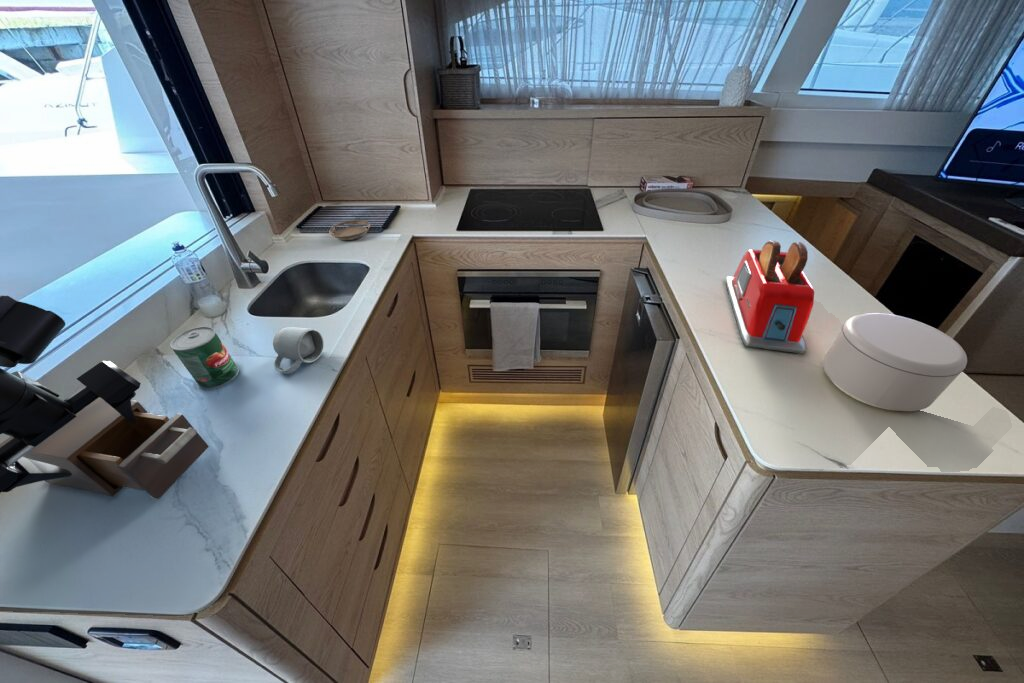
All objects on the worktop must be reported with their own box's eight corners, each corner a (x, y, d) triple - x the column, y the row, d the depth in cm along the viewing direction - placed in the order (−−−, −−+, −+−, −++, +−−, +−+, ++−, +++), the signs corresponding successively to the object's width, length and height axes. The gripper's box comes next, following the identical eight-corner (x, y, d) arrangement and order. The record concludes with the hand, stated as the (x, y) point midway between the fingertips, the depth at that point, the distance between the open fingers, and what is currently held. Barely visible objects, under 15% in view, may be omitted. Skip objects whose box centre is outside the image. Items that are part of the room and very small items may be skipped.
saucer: (333, 245, 140) (330, 238, 139) (329, 231, 151) (327, 224, 149) (374, 237, 145) (373, 230, 143) (368, 224, 156) (367, 217, 154)
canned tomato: (239, 380, 86) (214, 341, 79) (197, 394, 83) (167, 355, 76) (238, 360, 91) (214, 322, 85) (199, 372, 88) (171, 334, 82)
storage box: (173, 440, 74) (138, 401, 67) (113, 496, 65) (66, 458, 58) (114, 430, 76) (75, 392, 69) (49, 484, 67) (-4, 445, 60)
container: (798, 362, 85) (823, 318, 78) (865, 347, 88) (895, 303, 81) (878, 425, 71) (917, 379, 64) (954, 405, 74) (1000, 358, 67)
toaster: (806, 355, 87) (849, 281, 75) (743, 347, 90) (774, 274, 78) (773, 284, 111) (801, 219, 99) (724, 279, 114) (746, 215, 102)
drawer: (230, 450, 70) (205, 417, 65) (182, 503, 62) (148, 472, 57) (152, 437, 73) (121, 405, 68) (96, 487, 65) (56, 455, 60)
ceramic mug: (300, 343, 96) (287, 318, 91) (328, 348, 94) (317, 323, 89) (268, 372, 88) (252, 346, 83) (298, 379, 86) (283, 352, 81)
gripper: (46, 315, 52) (133, 375, 65) (-147, 429, 42) (0, 472, 55) (95, 353, 49) (176, 407, 62) (-99, 483, 40) (44, 516, 52)
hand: (103, 446), depth 58 cm, fingers open, 9 cm apart
